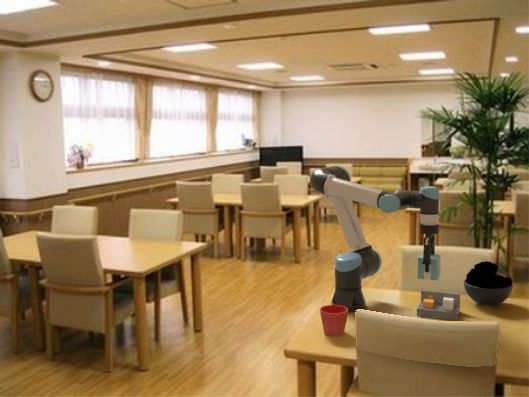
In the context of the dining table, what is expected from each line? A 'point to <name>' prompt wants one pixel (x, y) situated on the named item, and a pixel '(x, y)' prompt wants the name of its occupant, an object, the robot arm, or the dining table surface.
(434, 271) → the cover
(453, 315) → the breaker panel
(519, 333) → the dining table surface
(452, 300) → the plain button
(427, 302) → the tagged button
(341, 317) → the flower pot
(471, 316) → the dining table surface
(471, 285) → the bowl of black rocks
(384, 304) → the dining table surface
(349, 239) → the robot arm
